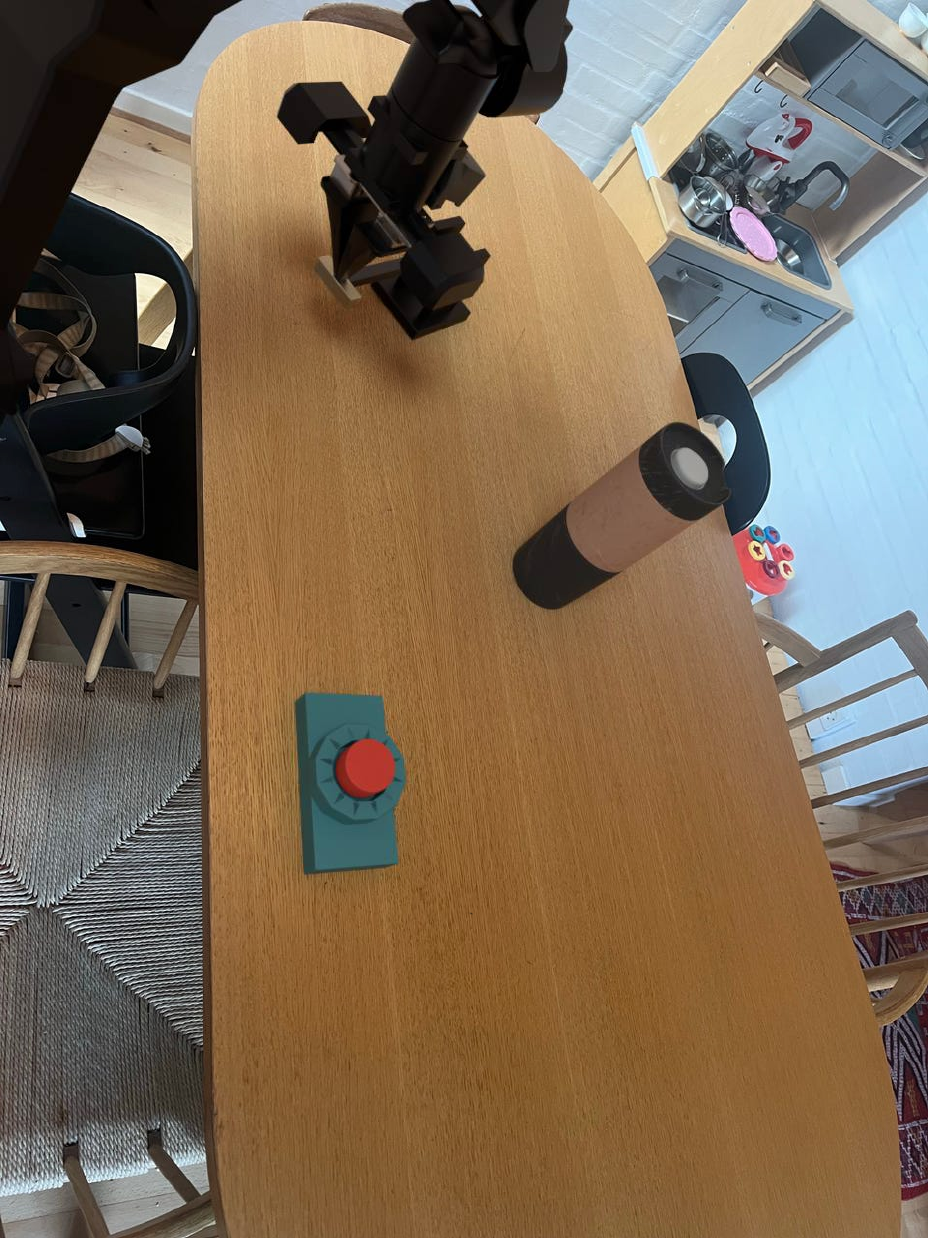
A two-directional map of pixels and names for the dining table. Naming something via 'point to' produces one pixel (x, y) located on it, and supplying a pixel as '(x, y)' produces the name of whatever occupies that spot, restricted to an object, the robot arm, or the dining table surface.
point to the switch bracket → (407, 305)
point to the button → (365, 768)
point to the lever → (356, 278)
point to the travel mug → (623, 516)
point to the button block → (329, 815)
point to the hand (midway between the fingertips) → (340, 276)
